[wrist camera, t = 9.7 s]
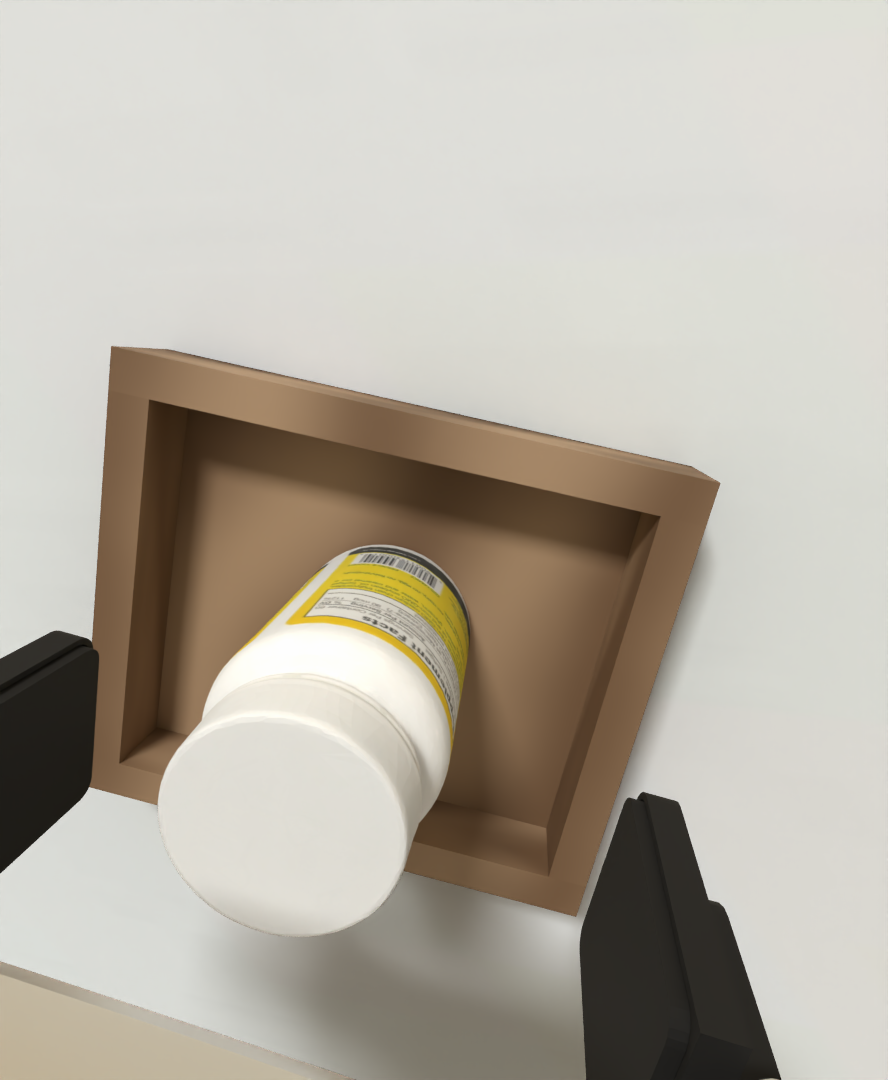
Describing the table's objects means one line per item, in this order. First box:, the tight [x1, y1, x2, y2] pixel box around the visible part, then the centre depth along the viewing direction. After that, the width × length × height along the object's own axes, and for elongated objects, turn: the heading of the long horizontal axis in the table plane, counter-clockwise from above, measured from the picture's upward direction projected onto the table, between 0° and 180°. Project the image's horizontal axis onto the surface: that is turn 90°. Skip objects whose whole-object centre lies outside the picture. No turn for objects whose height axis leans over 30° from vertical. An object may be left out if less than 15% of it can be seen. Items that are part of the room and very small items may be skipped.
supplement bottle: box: [158, 545, 470, 937], centre depth 14 cm, size 5×5×8 cm
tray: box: [89, 346, 720, 917], centre depth 17 cm, size 14×12×2 cm
